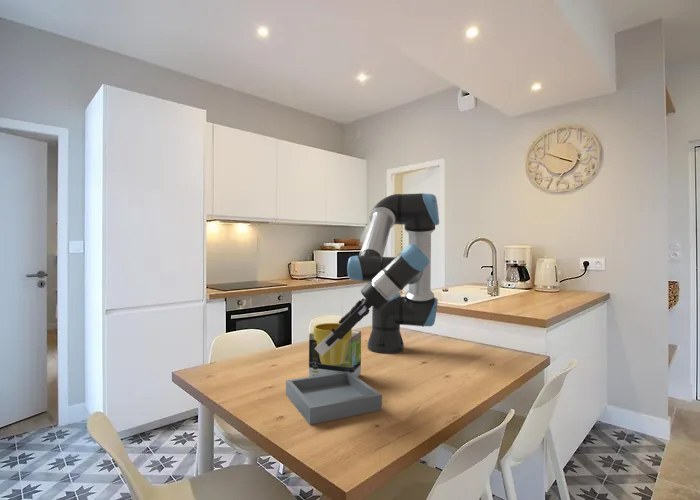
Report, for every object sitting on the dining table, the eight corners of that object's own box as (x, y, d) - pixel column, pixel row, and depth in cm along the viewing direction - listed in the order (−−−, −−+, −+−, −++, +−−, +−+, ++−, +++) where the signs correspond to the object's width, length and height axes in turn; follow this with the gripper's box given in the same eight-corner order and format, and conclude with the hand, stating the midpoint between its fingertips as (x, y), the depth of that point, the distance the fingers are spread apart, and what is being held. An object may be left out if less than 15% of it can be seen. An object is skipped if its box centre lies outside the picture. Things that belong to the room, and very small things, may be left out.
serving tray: (285, 394, 108) (286, 380, 108) (348, 384, 117) (348, 371, 117) (309, 424, 90) (310, 408, 90) (381, 409, 99) (381, 394, 99)
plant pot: (313, 356, 107) (314, 322, 107) (349, 356, 108) (350, 322, 108) (313, 368, 97) (313, 330, 97) (352, 367, 98) (353, 330, 98)
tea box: (361, 374, 126) (362, 330, 125) (351, 384, 116) (352, 337, 116) (320, 368, 131) (320, 326, 130) (307, 378, 121) (308, 332, 121)
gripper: (390, 308, 90) (324, 370, 91) (388, 295, 113) (336, 345, 114) (369, 285, 90) (303, 347, 92) (371, 277, 113) (319, 327, 115)
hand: (321, 346), depth 103 cm, fingers closed on plant pot, 10 cm apart
